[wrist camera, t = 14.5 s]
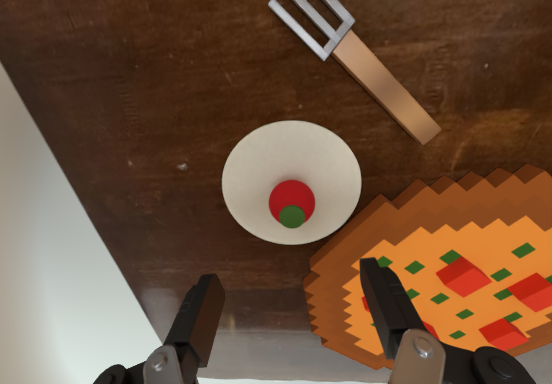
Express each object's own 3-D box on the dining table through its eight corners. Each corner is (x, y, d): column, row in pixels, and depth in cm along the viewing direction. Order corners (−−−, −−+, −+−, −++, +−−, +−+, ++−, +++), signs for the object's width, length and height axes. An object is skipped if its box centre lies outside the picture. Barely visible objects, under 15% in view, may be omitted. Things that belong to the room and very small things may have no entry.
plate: (296, 259, 25) (296, 262, 25) (198, 196, 22) (197, 198, 22) (390, 182, 20) (392, 184, 20) (280, 84, 17) (280, 84, 16)
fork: (440, 119, 17) (450, 122, 16) (409, 147, 18) (416, 152, 17) (297, -41, 13) (298, -51, 12) (268, 7, 15) (266, 2, 13)
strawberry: (293, 216, 22) (294, 246, 18) (261, 194, 21) (255, 220, 17) (321, 189, 20) (329, 216, 17) (289, 163, 19) (288, 185, 16)
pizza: (490, 91, 16) (530, 94, 13) (667, 276, 24) (716, 302, 21) (259, 304, 30) (256, 327, 27) (418, 380, 37) (428, 404, 34)
